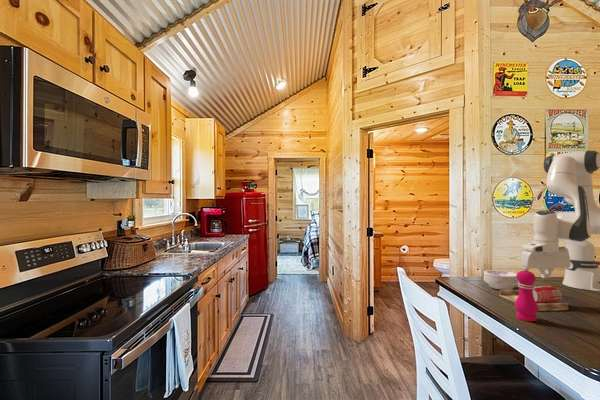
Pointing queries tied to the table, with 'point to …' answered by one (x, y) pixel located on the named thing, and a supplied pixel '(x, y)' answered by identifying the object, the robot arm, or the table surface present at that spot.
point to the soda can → (547, 294)
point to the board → (514, 294)
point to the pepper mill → (526, 296)
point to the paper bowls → (501, 279)
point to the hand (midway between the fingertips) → (545, 277)
